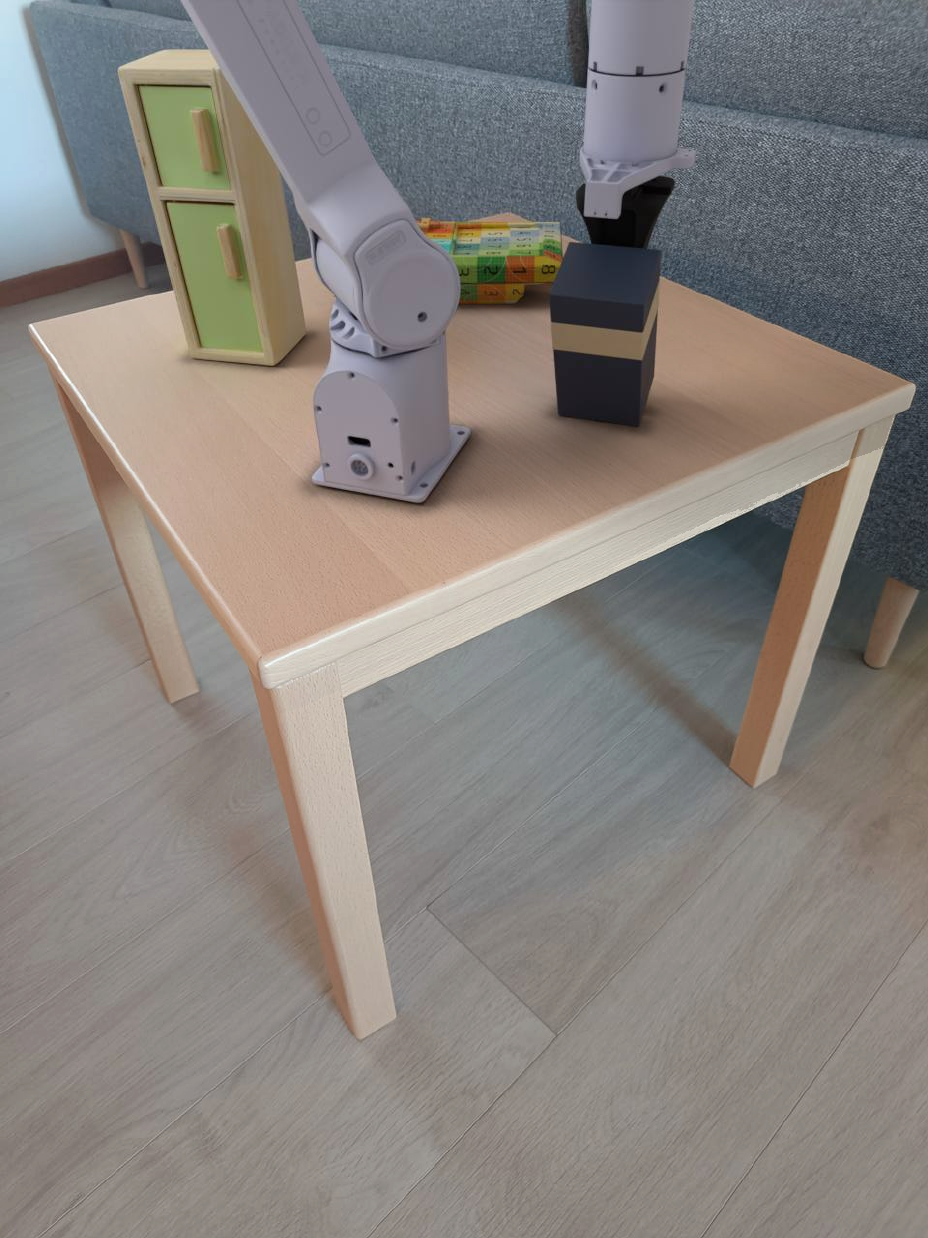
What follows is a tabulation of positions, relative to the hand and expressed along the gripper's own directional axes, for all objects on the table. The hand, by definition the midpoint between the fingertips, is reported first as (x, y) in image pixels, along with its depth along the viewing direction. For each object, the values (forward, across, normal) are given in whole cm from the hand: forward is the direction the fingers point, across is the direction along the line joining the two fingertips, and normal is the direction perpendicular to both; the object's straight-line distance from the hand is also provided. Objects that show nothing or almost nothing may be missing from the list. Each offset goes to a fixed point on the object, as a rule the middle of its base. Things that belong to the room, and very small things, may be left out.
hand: (616, 296), depth 61 cm
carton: (+7, -1, 0) cm, 7 cm away
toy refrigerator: (+8, 0, +31) cm, 32 cm away
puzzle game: (+8, +18, +19) cm, 28 cm away
